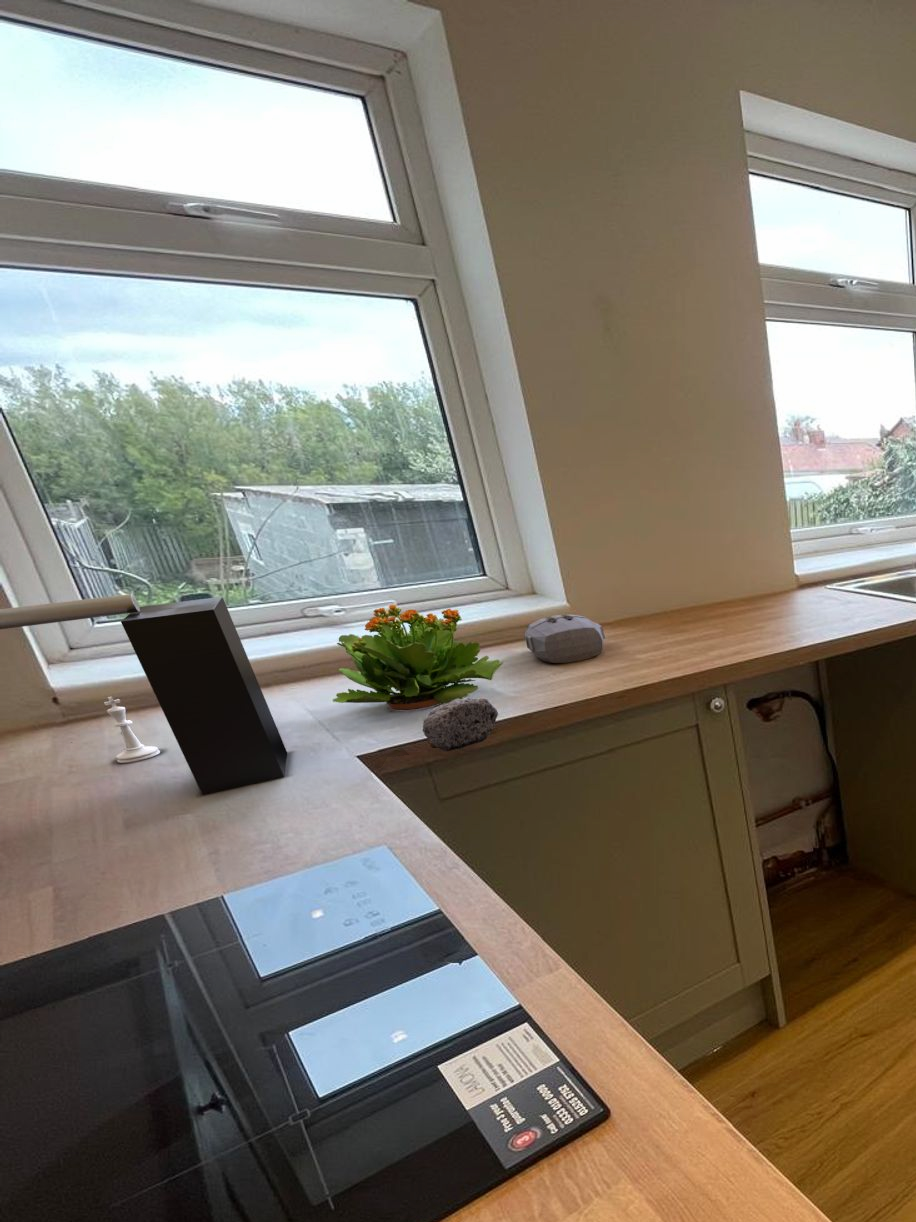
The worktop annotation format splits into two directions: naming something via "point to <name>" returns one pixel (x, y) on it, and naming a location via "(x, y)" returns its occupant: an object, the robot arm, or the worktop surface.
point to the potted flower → (412, 661)
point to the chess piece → (129, 736)
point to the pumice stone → (460, 723)
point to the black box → (208, 692)
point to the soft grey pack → (564, 638)
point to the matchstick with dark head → (67, 611)
